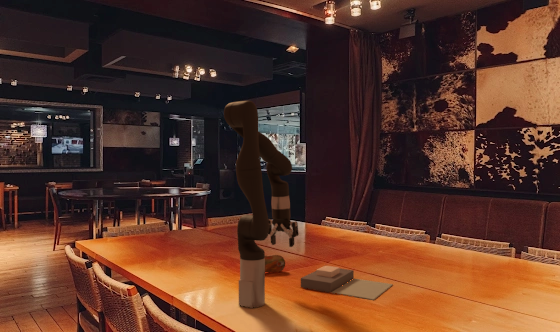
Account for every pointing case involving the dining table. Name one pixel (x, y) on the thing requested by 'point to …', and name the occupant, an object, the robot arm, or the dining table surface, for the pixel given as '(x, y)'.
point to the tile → (328, 271)
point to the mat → (363, 289)
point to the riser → (327, 281)
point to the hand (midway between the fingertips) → (282, 245)
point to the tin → (274, 263)
